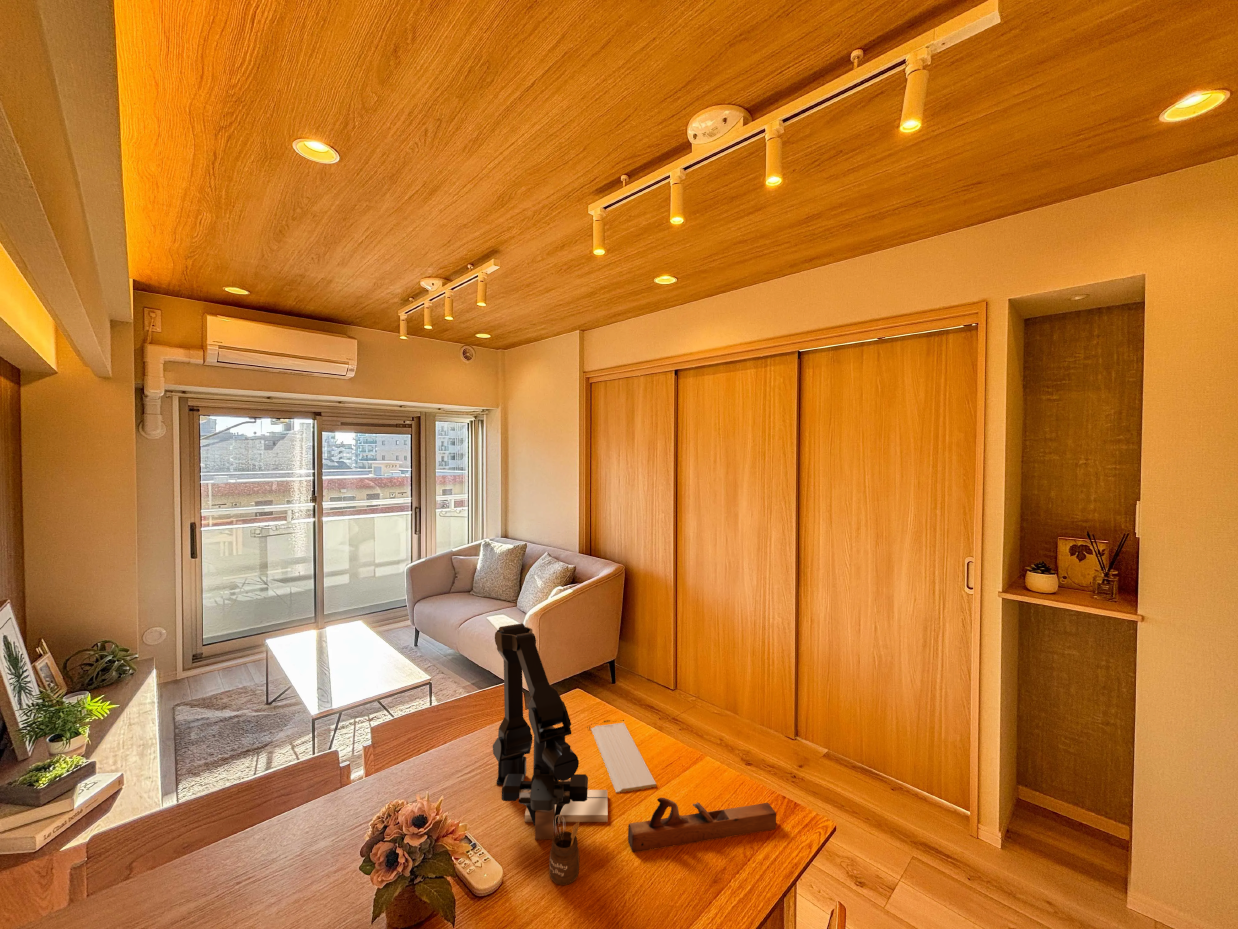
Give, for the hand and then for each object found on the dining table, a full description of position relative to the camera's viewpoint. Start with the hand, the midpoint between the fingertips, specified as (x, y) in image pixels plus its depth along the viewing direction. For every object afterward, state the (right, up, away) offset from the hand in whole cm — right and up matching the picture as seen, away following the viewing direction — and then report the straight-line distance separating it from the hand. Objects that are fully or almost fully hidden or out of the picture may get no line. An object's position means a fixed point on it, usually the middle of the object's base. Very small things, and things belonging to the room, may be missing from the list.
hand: (545, 824), depth 117 cm
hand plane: (+35, -3, 0) cm, 36 cm away
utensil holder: (+6, -2, -12) cm, 13 cm away
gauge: (0, -1, +4) cm, 4 cm away
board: (+4, -2, +8) cm, 9 cm away
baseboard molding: (+16, -2, +30) cm, 34 cm away
